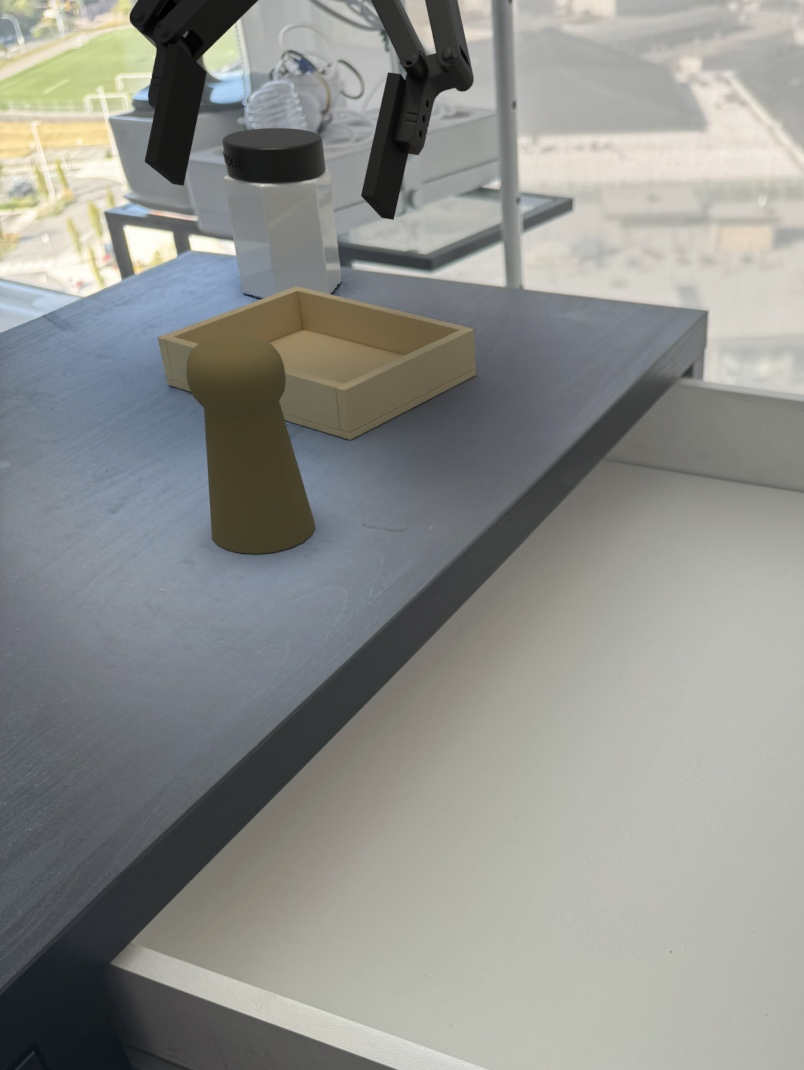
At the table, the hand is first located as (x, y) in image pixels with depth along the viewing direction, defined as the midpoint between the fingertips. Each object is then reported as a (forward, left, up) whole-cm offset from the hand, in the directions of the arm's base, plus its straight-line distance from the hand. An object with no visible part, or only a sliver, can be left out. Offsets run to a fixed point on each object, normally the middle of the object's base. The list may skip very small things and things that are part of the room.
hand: (268, 191), depth 65 cm
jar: (-26, +27, -17) cm, 41 cm away
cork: (+4, -8, -17) cm, 19 cm away
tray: (-9, +12, -16) cm, 22 cm away
